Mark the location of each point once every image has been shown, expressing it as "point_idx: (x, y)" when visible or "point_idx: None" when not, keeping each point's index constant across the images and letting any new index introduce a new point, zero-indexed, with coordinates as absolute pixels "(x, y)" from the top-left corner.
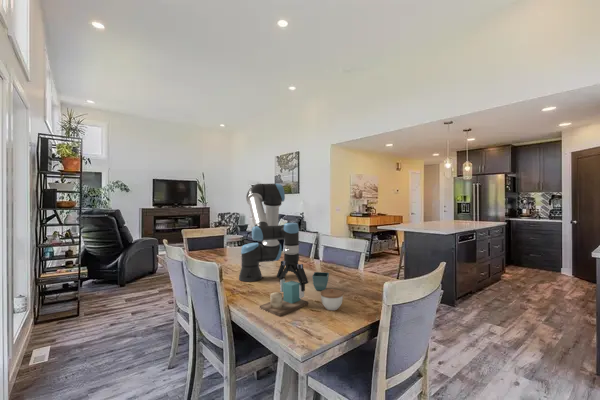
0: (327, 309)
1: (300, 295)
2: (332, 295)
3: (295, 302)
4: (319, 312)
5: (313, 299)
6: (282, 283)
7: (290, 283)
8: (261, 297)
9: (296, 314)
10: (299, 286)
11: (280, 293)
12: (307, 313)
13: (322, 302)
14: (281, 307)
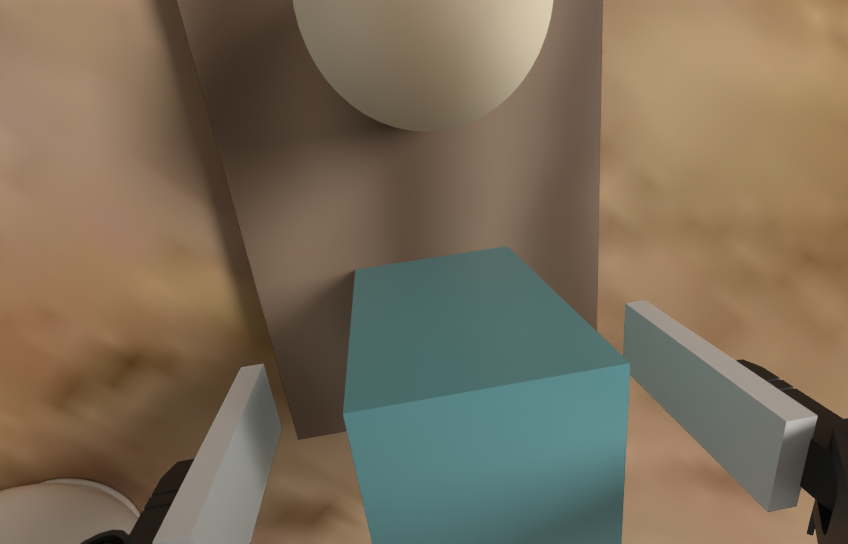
0: (62, 478)
1: (229, 391)
2: None
3: None
4: (30, 380)
5: None
6: (715, 398)
7: (495, 465)
8: (833, 155)
9: (113, 150)
10: (196, 503)
11: (409, 109)
12: (72, 269)
13: (52, 508)
14: None
